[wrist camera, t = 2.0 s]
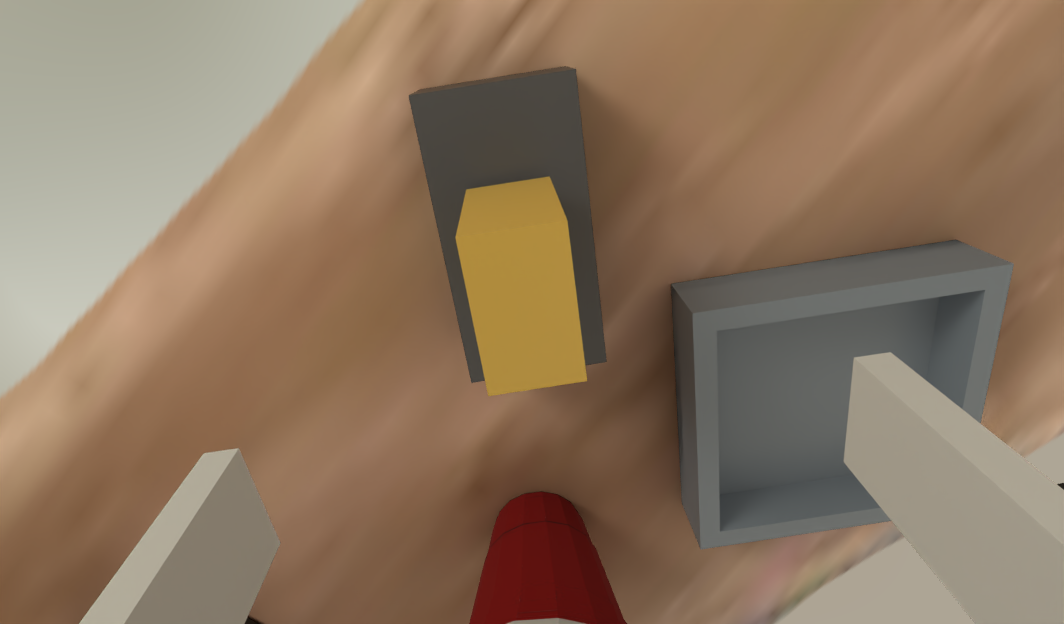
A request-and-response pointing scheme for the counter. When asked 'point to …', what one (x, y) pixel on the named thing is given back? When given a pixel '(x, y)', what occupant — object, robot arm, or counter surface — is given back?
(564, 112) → the block
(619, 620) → the plastic cup
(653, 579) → the counter surface
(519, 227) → the block
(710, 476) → the parts tray
